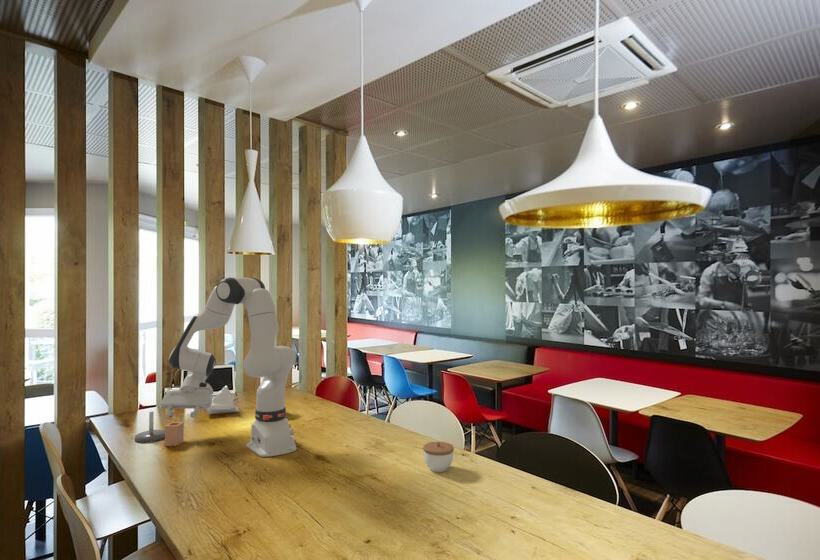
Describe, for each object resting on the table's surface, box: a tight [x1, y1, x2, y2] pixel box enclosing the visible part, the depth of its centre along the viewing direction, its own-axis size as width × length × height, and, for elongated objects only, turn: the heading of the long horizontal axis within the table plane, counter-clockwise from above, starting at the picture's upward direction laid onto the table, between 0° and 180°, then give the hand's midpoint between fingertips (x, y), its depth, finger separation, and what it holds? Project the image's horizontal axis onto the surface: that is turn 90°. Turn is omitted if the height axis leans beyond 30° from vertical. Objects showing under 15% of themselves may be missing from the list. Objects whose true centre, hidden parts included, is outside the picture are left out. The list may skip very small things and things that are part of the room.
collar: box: [164, 421, 185, 447], centre depth 185 cm, size 5×5×8 cm
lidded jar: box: [423, 441, 455, 473], centre depth 160 cm, size 11×11×9 cm
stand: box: [134, 410, 165, 444], centre depth 192 cm, size 12×12×11 cm
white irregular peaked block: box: [205, 385, 240, 415], centre depth 231 cm, size 12×15×14 cm
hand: (181, 416), depth 190 cm, fingers open, 8 cm apart
